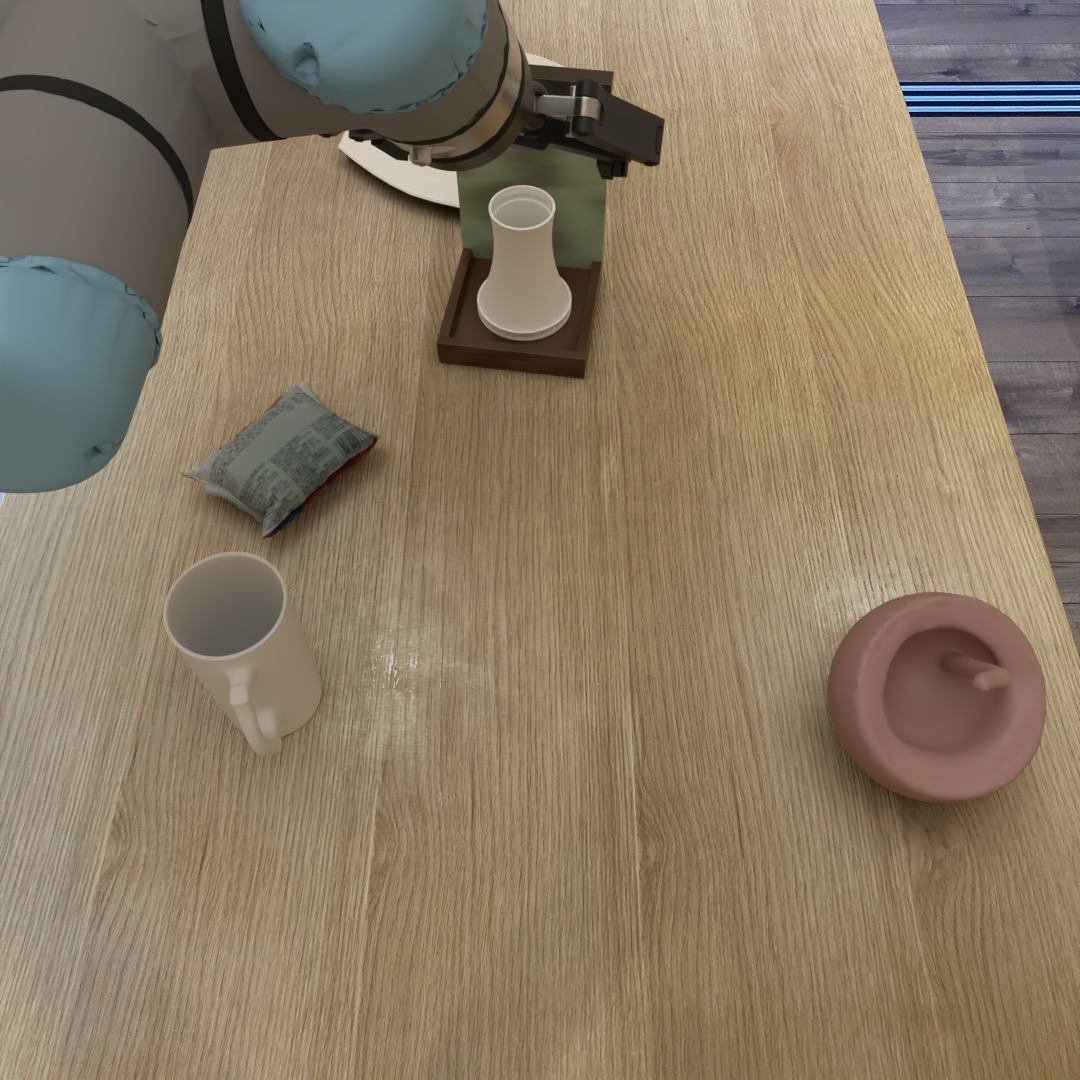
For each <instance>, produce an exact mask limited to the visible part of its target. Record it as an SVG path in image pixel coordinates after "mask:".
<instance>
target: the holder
mask: <svg viewBox="0 0 1080 1080" xmlns="http://www.w3.org/2000/svg"><path fill="white" fill-rule="evenodd" d="M529 67H530V71H531V75H532V78H535V79H538V80H541V81H545V82H548V83H549V84H550V85H551V86H552V88H553V91H554V94H555V95H557V96H569V90H570V86H576V81H579V80H581V79H592V80H593V81H594V82H598V83H599V84H600V85H601V86H602V88H603V89H604V90H605V91H606V92H608V93H610V94H612V95H613V89H614V79H615V71H613V70H602V69H592V68H591V69H590V68H580V67H579V68H578V67H566V66H564V67H556V66H544V65H532V64H529ZM519 135H521V136H523V135H524V132H523V133H520V134H519ZM596 164H597V159H594V158H590V157H586V156H582V155H578V154H574V153H570V152H566V151H562V150H558V149H554V148H550V147H547V148H546V149H545V150H544V151H522V150H518V149H514V148H510V147H509V148H508V149H507V150H506V151H505V152H504V153H503V154H501V155H500V156H499V157H498V158H496V159H495V160H493V161H491V162H490V163H488V164H486V165H483V166H481V167H478V168H475V169H471V170H467V171H456V174H457V185H458V196H459V207H460V209H459V215H460V216H459V218H460V229H461V238H462V239H461V241H462V250H461V253H460V258H459V261H458V264H457V268H456V272H455V276H454V279H453V282H452V286H451V289H450V293H449V296H448V300H447V303H446V307H445V311H444V315H443V318H442V322H441V325H440V329H439V332H438V336H437V338H436V339H437V340H436V350H437V358H438V362H439V363H444V364H450V365H451V364H452V365H461V366H469V367H478V368H487V369H497V370H504V371H505V370H506V371H513V372H525V373H532V374H533V373H534V374H542V375H550V376H558V377H567V378H577V379H584V378H585V375H586V370H587V364H588V359H589V358H588V357H589V353H590V347H591V341H592V335H593V330H594V325H595V319H596V313H597V312H596V311H597V307H598V301H599V295H600V288H601V283H602V278H603V264H604V250H605V249H604V248H605V247H604V246H605V231H606V230H605V228H606V214H607V213H606V211H607V196H608V195H607V194H608V192H607V191H608V180H607V179H602V178H601V176H600V173H599V170H598V168H597V165H596ZM518 185H528V186H534V187H537V188H540V189H542V190H544V191H546V192H547V193H548V194H549V195H550V196H551V197H552V198H553V200H554V202H555V213H554V218H553V226H552V248H553V256H554V261H555V264H556V268H557V271H558V273H559V276H560V277H561V278H562V279H563V280H564V281H565V282H566V283H567V285H568V287H569V289H570V291H571V297H572V301H571V313H570V316H569V318H568V320H567V322H566V323H565V324H564V326H563V327H562V328H561V329H559V330H558V331H557V332H555V333H554V334H552V335H550V336H548V337H545V338H542V339H538V340H533V341H515V340H509V339H506V338H503V337H500V336H498V335H496V334H494V333H493V332H491V331H490V330H489V329H488V328H487V327H486V326H485V325H484V324H483V323H482V321H481V319H480V317H479V314H478V304H477V296H478V292H479V289H480V287H481V285H482V284H483V283H484V281H485V280H486V279H487V278H488V276H489V273H490V270H491V266H492V260H493V252H494V237H493V228H492V222H491V218H490V214H489V203H490V200H491V199H492V197H493V196H494V195H495V194H496V193H498V192H499V191H501V190H503V189H505V188H508V187H511V186H518Z"/></svg>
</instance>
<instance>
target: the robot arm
mask: <svg viewBox="0 0 1080 1080" xmlns="http://www.w3.org/2000/svg"><path fill="white" fill-rule="evenodd" d="M524 52H525V50H524V48H523V46H522V44H521V42H520V40H519V38H518V36H517V33H516V31H515V29H514V28H513V25H512V22H511V21H510V18H509V16H508V14H507V13H506V10H505V9H504V7H503V5H502V3H501V2H500V0H0V494H1V493H2V494H3V493H4V494H40V493H41V494H42V493H48V492H54V491H59V490H63V489H66V488H70V487H73V486H75V485H78V484H80V483H82V482H85V481H86V480H88V479H90V478H91V477H93V476H95V475H96V474H98V473H99V472H100V471H102V470H103V469H105V467H106V466H107V465H109V463H110V462H111V461H112V459H114V457H115V456H117V454H118V452H119V450H120V449H121V447H122V445H123V442H124V440H125V439H126V437H127V434H128V431H129V428H130V427H131V426H130V425H131V423H132V420H133V417H134V414H135V412H136V409H137V407H138V403H139V400H140V397H141V395H142V392H143V388H144V386H145V384H146V380H147V377H148V374H149V372H150V371H151V370H152V369H153V368H154V367H155V366H157V364H158V363H159V362H158V361H159V358H160V354H161V351H162V347H163V346H162V345H163V337H164V336H163V334H162V326H163V322H164V318H165V315H166V311H167V307H168V304H169V299H170V295H171V292H172V288H173V284H174V281H175V276H176V273H177V270H178V269H177V268H178V264H179V261H180V257H181V254H182V249H183V245H184V241H185V239H186V236H187V233H188V230H189V228H190V226H191V223H192V220H193V217H194V213H195V210H196V206H197V202H198V199H199V195H200V192H201V189H202V184H203V181H204V177H205V174H206V171H207V167H208V163H209V160H210V156H211V151H214V150H217V149H225V148H231V147H239V146H246V145H253V144H260V143H269V142H276V141H285V140H288V139H291V138H301V137H308V136H316V135H317V136H319V137H321V138H325V139H330V138H332V137H338V136H339V135H340V134H342V133H343V132H345V131H349V135H348V138H350V139H352V140H354V141H355V142H363V141H369V140H371V145H373V146H375V147H376V148H378V149H379V150H381V151H383V152H384V153H386V154H388V155H389V156H391V157H393V158H394V159H396V160H401V161H408V155H409V160H410V161H411V162H412V163H413V164H414V165H418V166H420V167H424V166H429V167H432V168H435V169H439V170H444V171H467V170H471V169H475V168H478V167H481V166H483V165H486V164H488V163H490V162H491V161H493V160H495V159H496V158H498V157H499V156H500V155H501V154H503V153H504V152H505V151H506V150H507V149H508V148H509V147H510V148H514V149H518V150H522V151H544V150H545V149H546V148H547V147H550V148H554V149H558V150H562V151H566V152H570V153H574V154H578V155H582V156H586V157H590V158H594V159H597V164H596V165H597V168H598V170H599V173H600V176H601V178H602V179H607V181H614V178H622V179H623V178H628V173H629V164H631V163H632V161H633V162H636V163H637V164H642V165H644V166H645V167H647V168H648V167H649V168H652V167H657V166H659V165H660V164H661V157H662V148H663V140H664V131H665V122H666V119H665V118H664V117H661V116H659V115H657V114H654V113H652V112H651V111H648V110H646V109H644V108H642V107H641V106H638V105H636V104H633V103H632V102H630V101H627V100H625V99H623V98H620V97H619V96H617V95H614V94H613V93H612V94H610V93H608V92H606V91H605V90H604V89H603V88H602V86H601V85H600V84H599V83H598V82H594V81H593V80H592V79H581V80H579V81H576V86H570V90H569V96H557V95H555V94H554V91H553V88H552V86H551V85H550V84H549V83H548V82H545V81H541V80H538V79H535V78H532V75H531V71H530V67H529V64H528V61H527V58H526V55H525V53H526V52H525V53H524ZM523 132H524V135H523V136H521V135H519V134H520V133H523Z"/></svg>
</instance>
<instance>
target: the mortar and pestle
mask: <svg viewBox="0 0 1080 1080" xmlns="http://www.w3.org/2000/svg"><path fill="white" fill-rule="evenodd" d="M1034 650H1035V649H1034V648H1033V647H1032V644H1031V642H1030V641H1029V639H1028V638H1027V636H1026V635H1025V633H1024V632H1023V630H1022V629H1021V628H1020V627H1019V626H1018V624H1016V622H1015V621H1014V620H1013V618H1011V617H1010V616H1008V615H1007V614H1006V613H1004V612H1002V610H1001V609H1000V608H998V607H995V606H994V605H992V604H991V603H988V602H986V601H984V600H982V599H979V598H977V597H975V596H970V595H963V594H957V593H952V592H943V591H942V592H941V591H922V592H916V593H910V594H905V595H902V596H897V597H895V598H893V599H890V600H887V601H885V602H882V603H881V604H879V605H878V606H876V607H874V608H872V609H871V610H870V611H868V612H867V613H866V614H864V615H863V616H861V617H860V618H859V619H858V620H857V621H856V622H855V623H854V624H853V625H852V627H850V629H849V630H848V631H847V633H846V634H845V635H844V637H843V638H842V640H841V642H839V645H838V647H837V648H836V650H835V653H834V655H833V658H832V661H831V663H830V667H829V672H828V677H827V686H826V689H827V690H826V694H827V695H826V699H827V708H828V712H829V717H830V720H831V721H830V722H831V724H832V727H833V730H834V732H835V735H836V736H837V738H838V740H839V742H840V744H841V746H842V747H843V749H844V750H845V753H846V754H847V755H848V756H849V758H850V759H851V760H852V762H854V764H855V765H856V766H857V767H858V768H859V769H860V770H861V771H862V772H863V773H864V774H865V775H867V776H868V777H869V778H870V779H872V780H873V781H875V782H876V783H877V784H879V785H880V786H882V787H884V788H886V789H887V790H889V791H891V792H893V793H895V794H897V795H900V796H902V797H906V798H908V799H912V800H916V801H920V802H925V803H933V804H957V803H958V804H959V803H964V802H965V803H966V802H970V801H974V800H978V799H981V798H984V797H987V796H989V795H993V794H994V793H996V792H998V791H1000V790H1002V789H1004V788H1005V787H1007V786H1008V785H1010V784H1012V783H1013V782H1014V781H1015V780H1016V779H1017V778H1018V777H1019V776H1020V775H1021V774H1022V773H1023V772H1024V771H1025V769H1026V768H1027V767H1028V765H1029V764H1031V763H1032V761H1033V759H1034V757H1035V755H1036V754H1037V752H1038V750H1039V748H1040V745H1041V742H1042V737H1043V734H1044V733H1043V732H1044V728H1045V724H1046V717H1047V716H1046V715H1047V698H1046V697H1047V696H1046V694H1047V693H1046V683H1045V678H1044V674H1043V670H1042V666H1041V663H1040V662H1039V659H1038V657H1037V654H1036V653H1035V651H1034Z"/></svg>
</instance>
